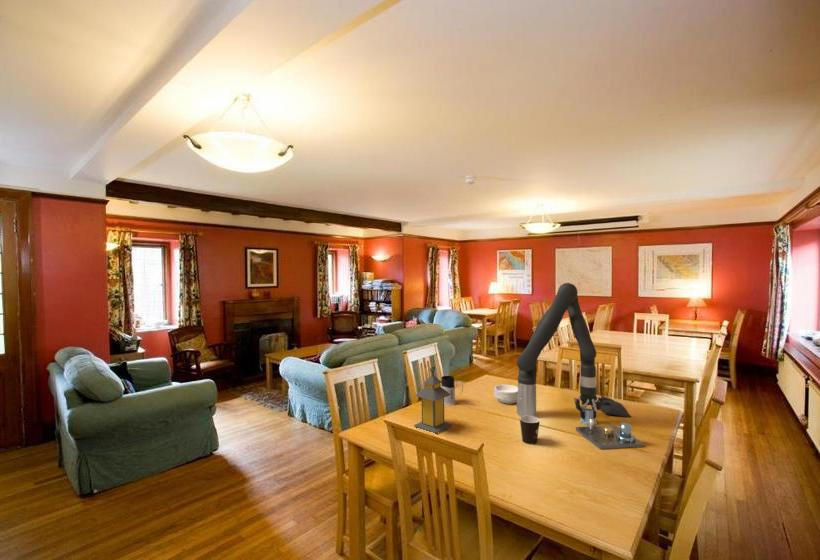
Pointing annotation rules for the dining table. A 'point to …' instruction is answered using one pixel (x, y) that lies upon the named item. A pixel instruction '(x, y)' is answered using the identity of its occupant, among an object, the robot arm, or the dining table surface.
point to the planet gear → (588, 416)
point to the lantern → (433, 405)
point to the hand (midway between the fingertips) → (588, 418)
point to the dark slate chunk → (613, 407)
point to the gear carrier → (610, 436)
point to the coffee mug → (529, 429)
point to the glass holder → (449, 389)
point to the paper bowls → (506, 393)
